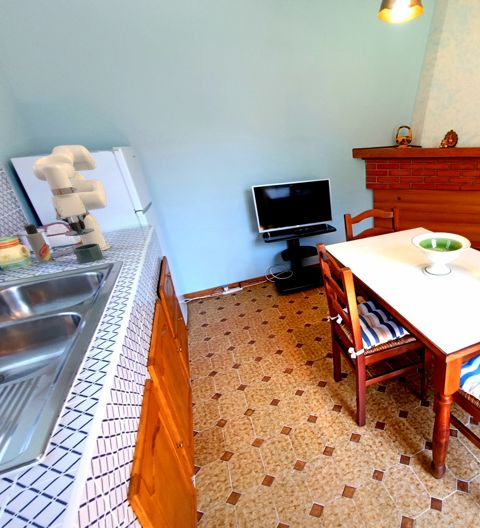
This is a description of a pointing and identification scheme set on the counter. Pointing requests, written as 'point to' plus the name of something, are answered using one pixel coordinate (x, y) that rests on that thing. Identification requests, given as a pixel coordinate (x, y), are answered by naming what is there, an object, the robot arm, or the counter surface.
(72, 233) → the lid
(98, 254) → the pot
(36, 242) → the lotion bottle
